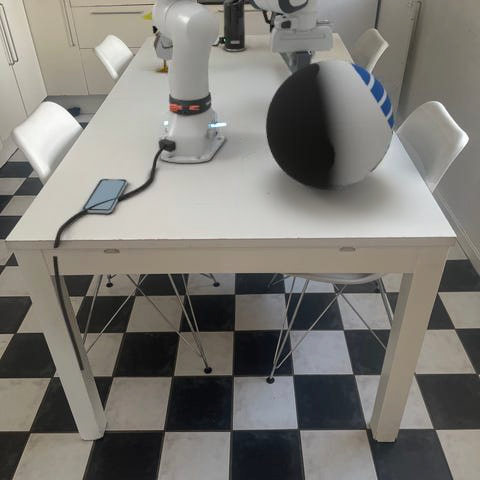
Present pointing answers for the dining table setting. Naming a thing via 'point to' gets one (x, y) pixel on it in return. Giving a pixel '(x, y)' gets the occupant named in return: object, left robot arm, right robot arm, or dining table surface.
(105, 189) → the smartphone
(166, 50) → the toy
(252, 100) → the dining table surface
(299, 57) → the post
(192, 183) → the dining table surface
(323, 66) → the black and white ball
